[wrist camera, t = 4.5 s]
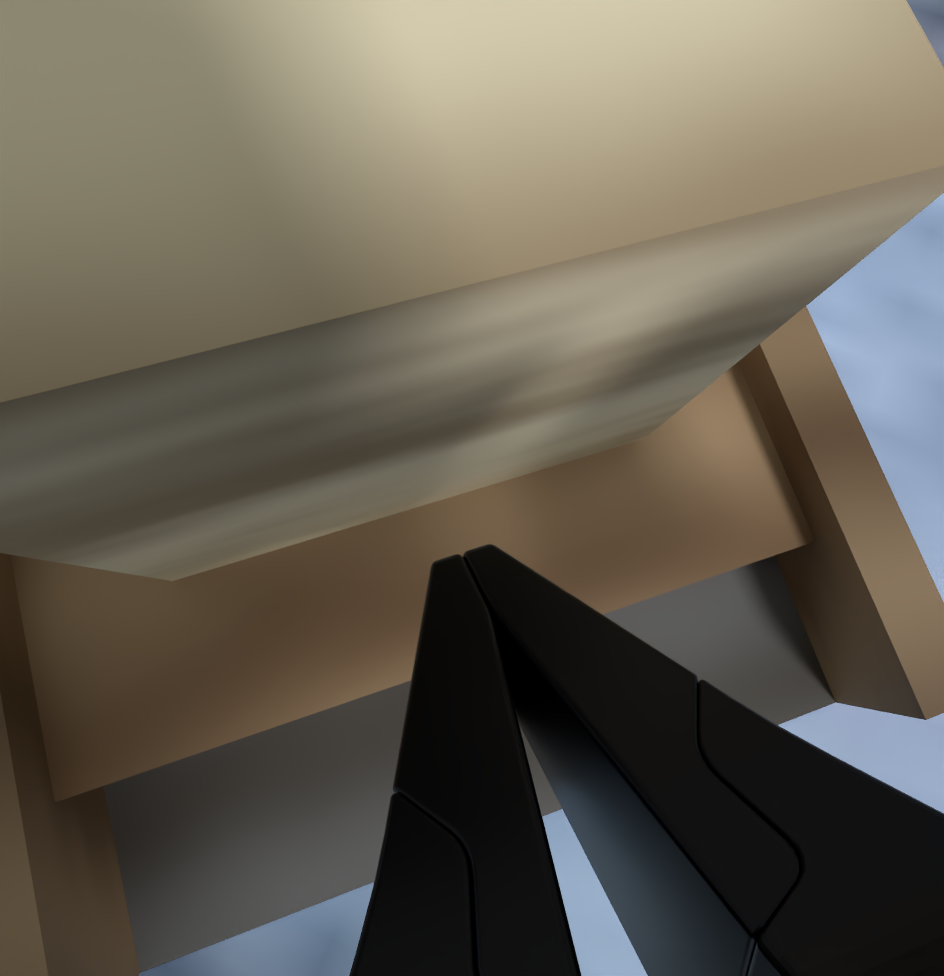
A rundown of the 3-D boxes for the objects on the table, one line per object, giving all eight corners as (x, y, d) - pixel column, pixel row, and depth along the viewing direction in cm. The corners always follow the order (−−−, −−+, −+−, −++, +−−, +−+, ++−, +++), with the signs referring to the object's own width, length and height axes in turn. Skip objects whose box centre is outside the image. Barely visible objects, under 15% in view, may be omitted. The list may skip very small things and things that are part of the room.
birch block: (645, 438, 14) (991, 152, 6) (172, 581, 13) (-364, 493, 4) (497, 63, 16) (585, -578, 8) (73, 148, 15) (-428, -536, 6)
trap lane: (880, 681, 16) (1032, 701, 12) (71, 995, 13) (-82, 1159, 9) (451, -309, 22) (458, -507, 18) (-146, -246, 19) (-289, -464, 15)
